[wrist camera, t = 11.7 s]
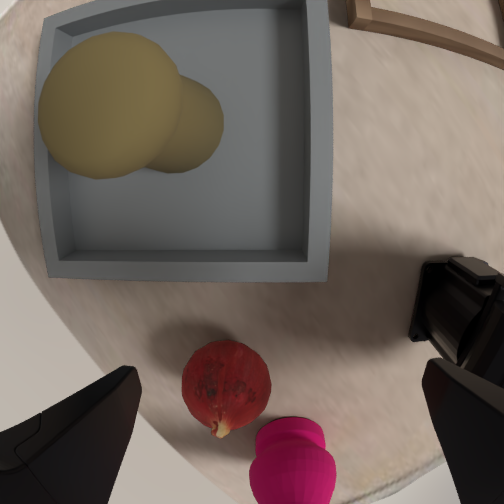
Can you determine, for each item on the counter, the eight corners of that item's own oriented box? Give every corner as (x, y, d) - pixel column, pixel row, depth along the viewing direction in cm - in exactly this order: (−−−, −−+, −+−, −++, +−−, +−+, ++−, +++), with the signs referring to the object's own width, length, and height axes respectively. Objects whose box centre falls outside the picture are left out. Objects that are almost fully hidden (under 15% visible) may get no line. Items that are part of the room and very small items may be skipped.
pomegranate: (182, 325, 23) (152, 399, 15) (261, 313, 22) (262, 389, 15) (203, 386, 24) (187, 462, 17) (275, 377, 24) (279, 456, 16)
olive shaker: (114, 151, 19) (-7, 159, 8) (155, 65, 17) (62, -4, 6) (197, 190, 19) (127, 232, 9) (242, 101, 18) (222, 36, 7)
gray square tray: (318, 264, 21) (327, 281, 18) (69, 263, 21) (48, 277, 19) (317, 0, 16) (325, -20, 13) (65, 29, 16) (44, 18, 13)
